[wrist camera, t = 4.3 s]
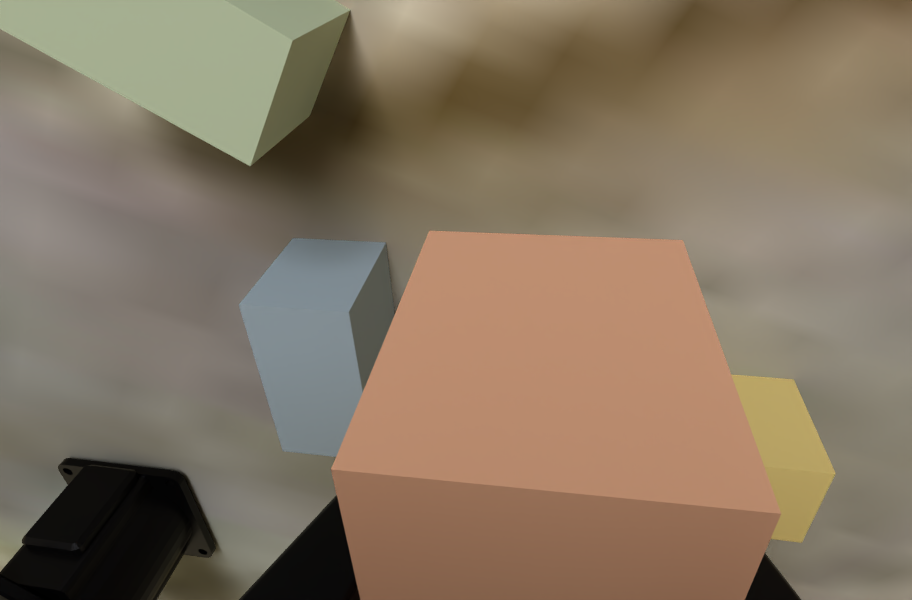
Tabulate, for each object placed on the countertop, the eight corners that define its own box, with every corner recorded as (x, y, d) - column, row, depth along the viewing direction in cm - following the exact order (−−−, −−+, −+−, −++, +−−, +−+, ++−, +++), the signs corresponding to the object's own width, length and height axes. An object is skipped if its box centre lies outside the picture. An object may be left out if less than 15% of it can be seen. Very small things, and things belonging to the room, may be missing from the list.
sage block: (352, 9, 15) (292, 40, 12) (311, 114, 17) (250, 166, 14) (132, -125, 14) (4, -130, 11) (114, 1, 16) (-1, 28, 13)
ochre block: (792, 377, 20) (835, 473, 16) (767, 443, 21) (801, 542, 18) (606, 362, 20) (612, 451, 17) (597, 427, 22) (601, 518, 19)
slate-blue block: (403, 378, 23) (374, 460, 19) (323, 372, 23) (282, 451, 20) (386, 240, 19) (348, 312, 16) (294, 236, 20) (238, 304, 16)
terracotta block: (623, 537, 11) (651, 819, 7) (448, 517, 11) (399, 776, 8) (682, 240, 7) (782, 514, 4) (429, 230, 8) (330, 470, 4)
